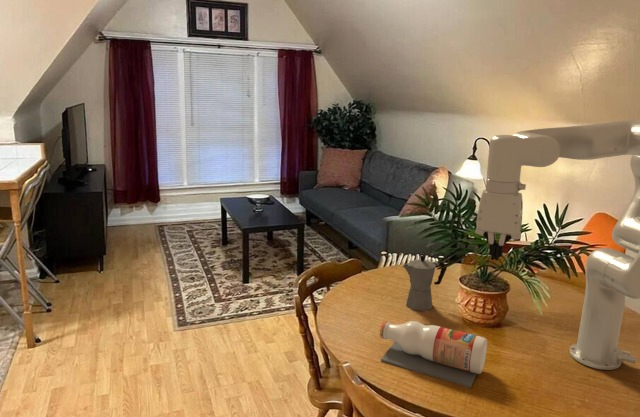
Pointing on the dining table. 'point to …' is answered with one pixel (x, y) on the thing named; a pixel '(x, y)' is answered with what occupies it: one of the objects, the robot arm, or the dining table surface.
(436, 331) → the fruit juice
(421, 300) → the coffeepot
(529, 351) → the dining table surface
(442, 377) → the mat
